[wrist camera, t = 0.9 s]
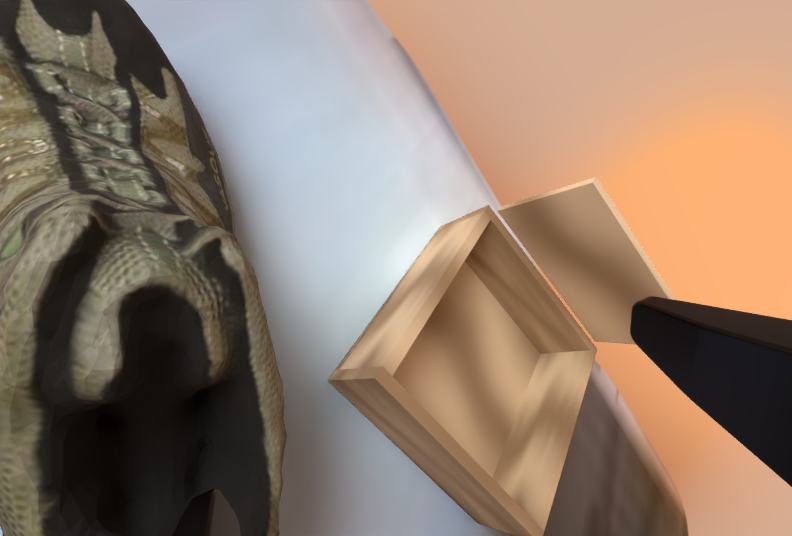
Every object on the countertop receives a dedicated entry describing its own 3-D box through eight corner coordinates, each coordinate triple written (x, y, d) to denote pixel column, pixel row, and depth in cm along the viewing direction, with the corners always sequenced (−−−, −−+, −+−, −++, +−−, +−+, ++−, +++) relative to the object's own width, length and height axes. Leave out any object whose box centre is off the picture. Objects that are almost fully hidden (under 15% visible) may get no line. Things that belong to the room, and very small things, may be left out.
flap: (701, 349, 21) (703, 343, 21) (592, 182, 18) (596, 176, 18) (595, 341, 26) (597, 336, 26) (497, 210, 23) (501, 206, 23)
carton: (477, 522, 23) (540, 543, 20) (327, 380, 19) (374, 378, 16) (542, 353, 30) (597, 349, 26) (440, 226, 26) (488, 204, 23)
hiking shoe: (185, 51, 19) (247, -155, 12) (297, 519, 17) (450, 614, 10) (-88, 9, 14) (-277, -408, 7) (31, 674, 12) (-49, 1102, 5)
